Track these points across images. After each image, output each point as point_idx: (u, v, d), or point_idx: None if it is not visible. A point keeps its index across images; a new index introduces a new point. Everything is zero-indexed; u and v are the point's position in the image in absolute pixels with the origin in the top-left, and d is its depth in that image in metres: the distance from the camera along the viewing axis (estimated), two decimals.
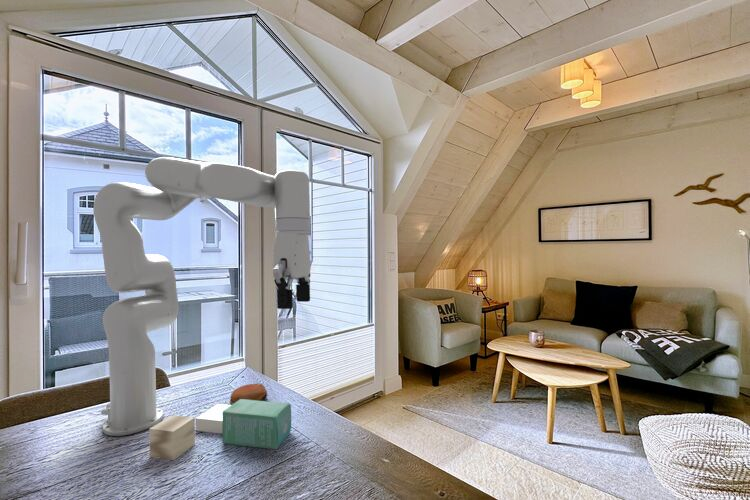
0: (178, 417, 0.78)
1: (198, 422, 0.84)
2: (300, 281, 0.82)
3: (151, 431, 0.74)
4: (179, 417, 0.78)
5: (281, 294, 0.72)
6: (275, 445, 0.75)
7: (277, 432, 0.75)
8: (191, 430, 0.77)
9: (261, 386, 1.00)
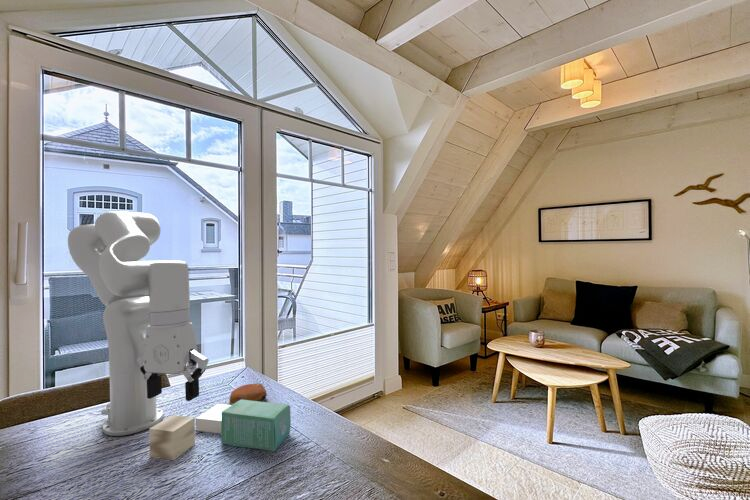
0: (178, 417, 0.78)
1: (198, 422, 0.84)
2: (151, 375, 0.76)
3: (151, 431, 0.74)
4: (179, 417, 0.78)
5: (195, 384, 0.74)
6: (273, 447, 0.75)
7: (275, 434, 0.75)
8: (191, 430, 0.77)
9: (260, 386, 1.00)
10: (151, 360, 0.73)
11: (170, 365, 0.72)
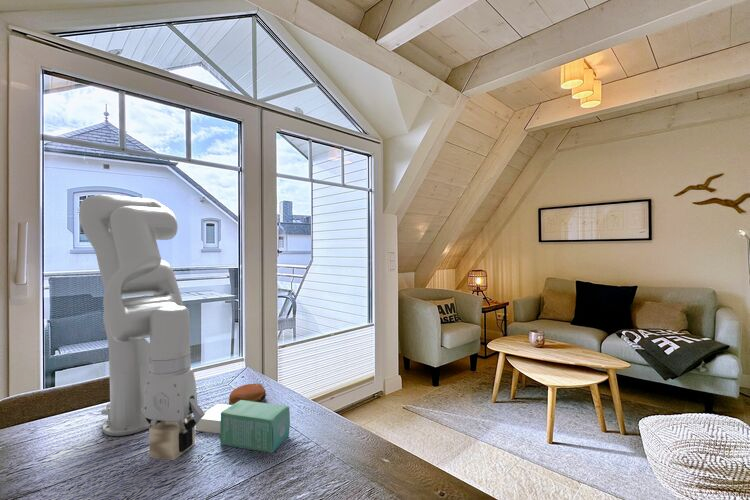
0: None
1: (198, 422, 0.84)
2: None
3: (151, 431, 0.73)
4: None
5: (188, 435, 0.75)
6: (271, 449, 0.74)
7: (273, 436, 0.74)
8: None
9: (260, 386, 1.00)
10: (151, 407, 0.74)
11: (170, 413, 0.73)
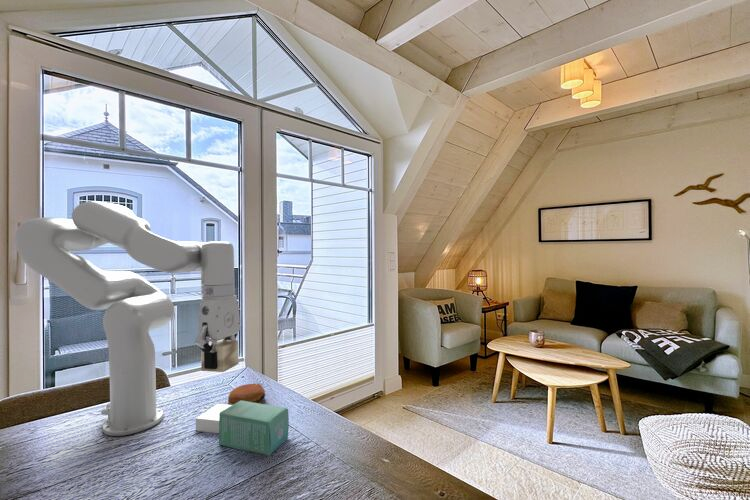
0: (210, 343, 0.87)
1: (198, 422, 0.84)
2: None
3: (224, 348, 0.84)
4: (210, 343, 0.87)
5: None
6: (268, 451, 0.73)
7: (270, 438, 0.73)
8: None
9: (259, 386, 1.00)
10: (222, 328, 0.84)
11: (234, 327, 0.88)
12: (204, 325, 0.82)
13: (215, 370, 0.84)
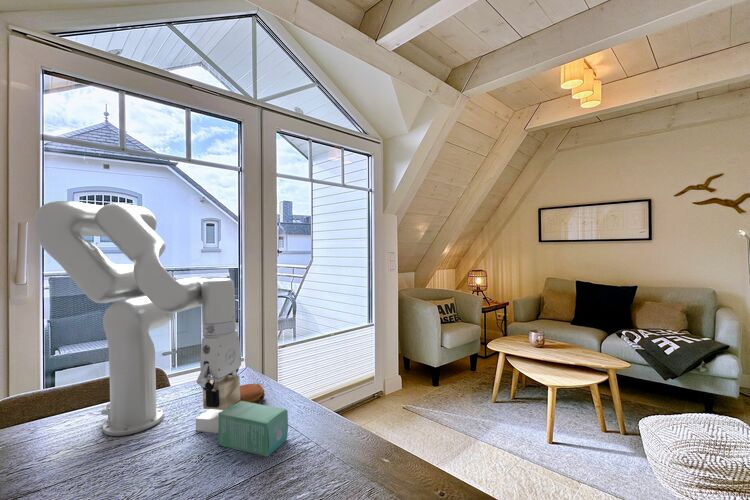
0: (212, 380, 0.87)
1: (198, 422, 0.84)
2: None
3: (225, 386, 0.84)
4: None
5: None
6: (266, 452, 0.73)
7: (268, 439, 0.73)
8: None
9: (259, 386, 1.00)
10: (223, 365, 0.84)
11: (236, 363, 0.88)
12: (205, 364, 0.82)
13: (217, 408, 0.84)
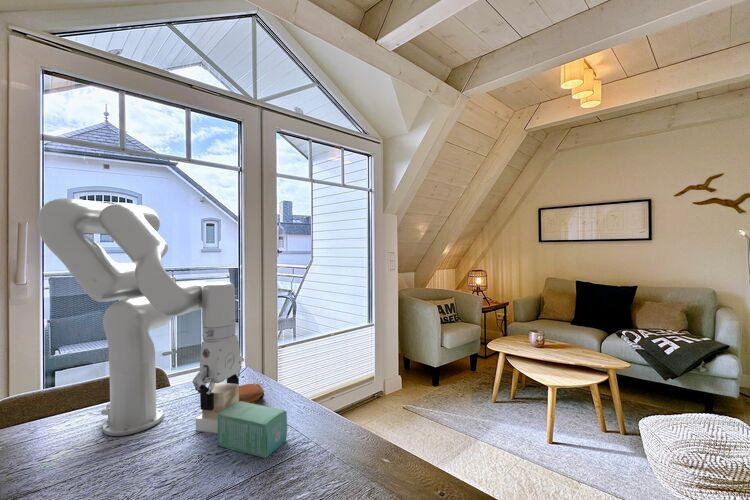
0: None
1: (198, 422, 0.84)
2: None
3: (224, 394, 0.84)
4: None
5: None
6: (264, 454, 0.72)
7: (266, 440, 0.72)
8: None
9: (258, 386, 1.00)
10: (223, 369, 0.84)
11: (235, 366, 0.88)
12: (205, 366, 0.82)
13: (216, 416, 0.84)
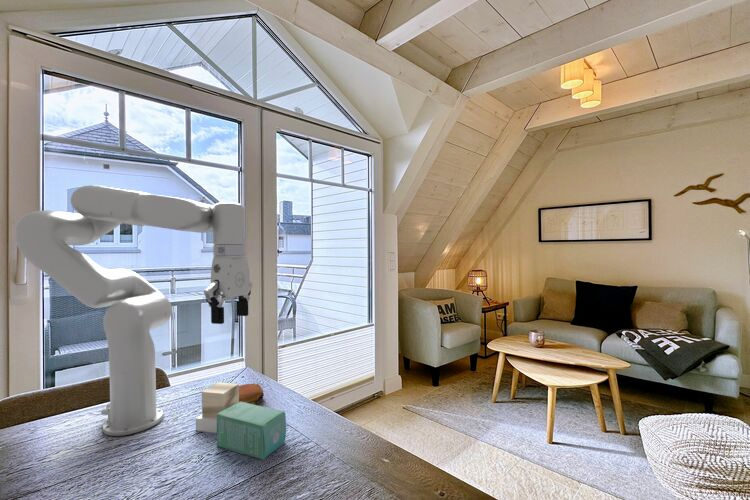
0: (211, 388, 0.87)
1: (198, 422, 0.84)
2: None
3: (224, 394, 0.84)
4: (210, 387, 0.87)
5: None
6: (262, 455, 0.72)
7: (264, 442, 0.72)
8: None
9: (258, 386, 1.00)
10: (233, 286, 0.86)
11: (245, 287, 0.90)
12: (215, 281, 0.84)
13: (216, 416, 0.84)
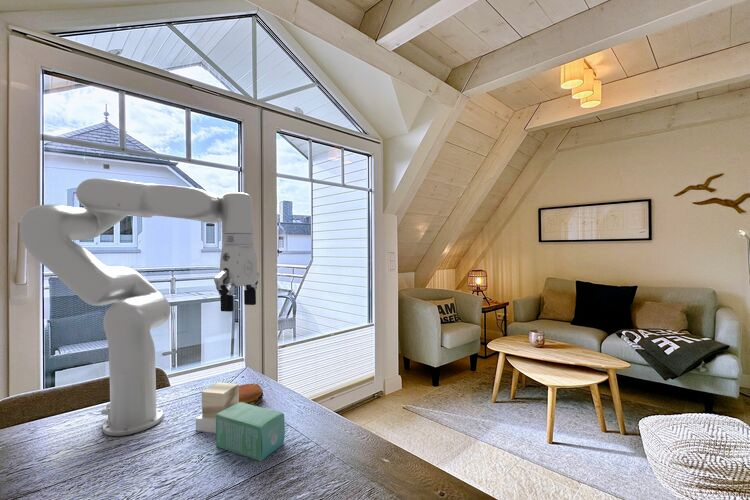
0: (211, 388, 0.87)
1: (198, 422, 0.84)
2: None
3: (224, 394, 0.84)
4: (210, 387, 0.87)
5: None
6: (260, 457, 0.71)
7: (262, 443, 0.71)
8: None
9: (257, 386, 1.00)
10: (242, 274, 0.87)
11: (253, 276, 0.91)
12: (225, 269, 0.85)
13: None
